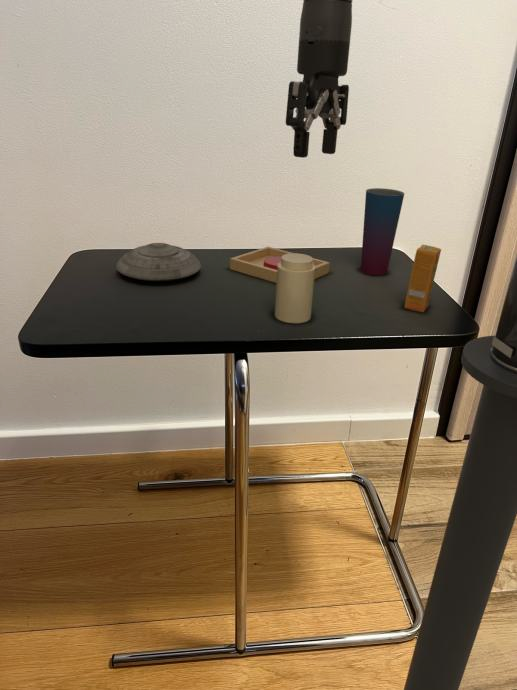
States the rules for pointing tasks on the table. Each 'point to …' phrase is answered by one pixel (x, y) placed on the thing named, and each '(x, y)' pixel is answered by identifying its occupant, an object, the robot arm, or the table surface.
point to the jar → (294, 288)
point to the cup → (379, 229)
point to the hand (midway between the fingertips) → (314, 155)
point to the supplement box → (422, 278)
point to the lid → (272, 262)
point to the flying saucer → (158, 263)
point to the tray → (255, 267)
